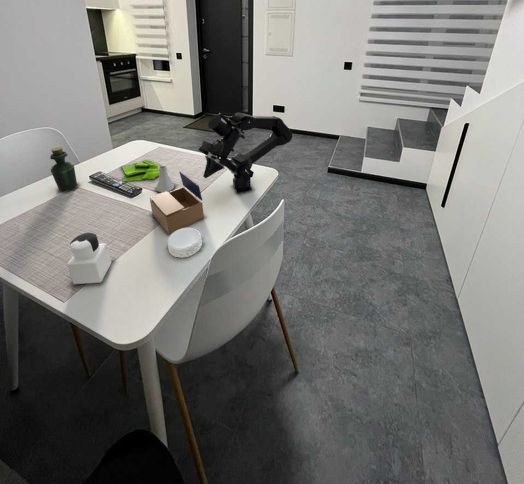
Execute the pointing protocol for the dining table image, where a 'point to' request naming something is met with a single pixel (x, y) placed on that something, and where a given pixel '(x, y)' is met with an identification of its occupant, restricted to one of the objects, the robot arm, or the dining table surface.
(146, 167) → the cloth
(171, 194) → the carton
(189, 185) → the flap
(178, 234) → the white round disc
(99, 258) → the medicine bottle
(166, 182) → the flask
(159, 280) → the dining table surface
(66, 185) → the potion bottle
